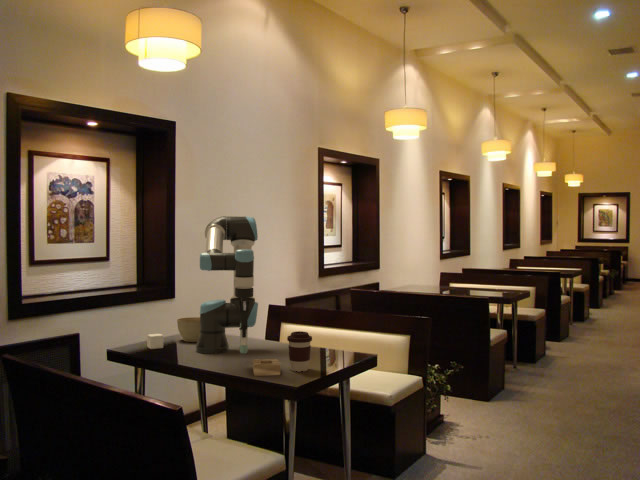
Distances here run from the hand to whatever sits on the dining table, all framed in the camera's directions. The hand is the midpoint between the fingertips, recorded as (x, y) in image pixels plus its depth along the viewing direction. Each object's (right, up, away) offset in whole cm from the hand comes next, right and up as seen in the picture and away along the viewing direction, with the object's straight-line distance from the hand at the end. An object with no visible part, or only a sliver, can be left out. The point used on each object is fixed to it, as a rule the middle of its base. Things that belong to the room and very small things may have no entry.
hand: (243, 344), depth 230 cm
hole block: (+10, -9, -9) cm, 16 cm away
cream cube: (-47, -9, +37) cm, 61 cm away
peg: (0, -4, 0) cm, 4 cm away
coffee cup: (+23, -10, -5) cm, 25 cm away
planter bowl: (-33, -9, +55) cm, 64 cm away
